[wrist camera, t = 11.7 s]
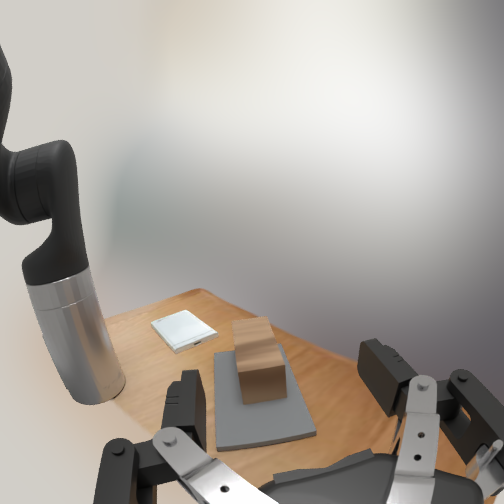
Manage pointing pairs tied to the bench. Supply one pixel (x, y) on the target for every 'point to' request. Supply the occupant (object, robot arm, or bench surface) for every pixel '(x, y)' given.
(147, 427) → the bench surface
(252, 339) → the light brown wooden block
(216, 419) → the rubber mat
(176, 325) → the hard drive
